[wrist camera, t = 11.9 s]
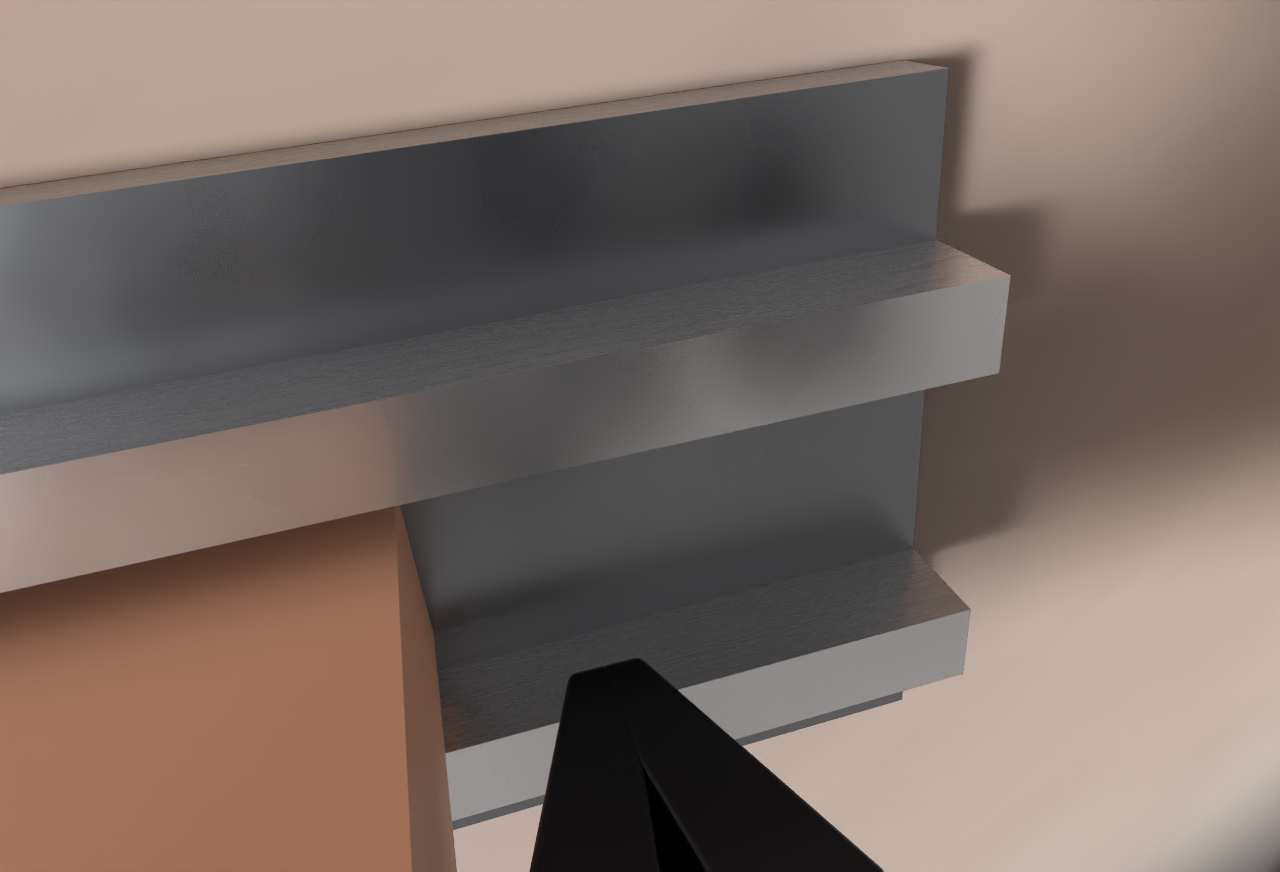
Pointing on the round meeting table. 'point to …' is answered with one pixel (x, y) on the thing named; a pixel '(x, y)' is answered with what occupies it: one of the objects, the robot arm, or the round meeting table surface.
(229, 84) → the round meeting table surface
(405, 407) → the track base
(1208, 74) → the round meeting table surface
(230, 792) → the tan flat rectangular block
